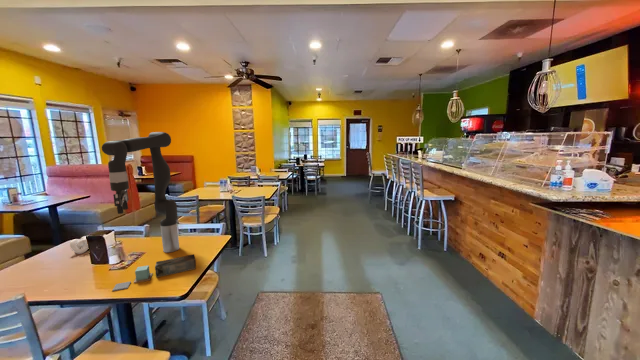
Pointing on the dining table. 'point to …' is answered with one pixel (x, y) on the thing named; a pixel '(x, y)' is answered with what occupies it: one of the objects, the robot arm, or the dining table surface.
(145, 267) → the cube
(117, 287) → the pad
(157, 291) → the dining table surface
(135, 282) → the pad
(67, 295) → the dining table surface
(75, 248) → the white crumpled lump
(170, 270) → the beverage carton
